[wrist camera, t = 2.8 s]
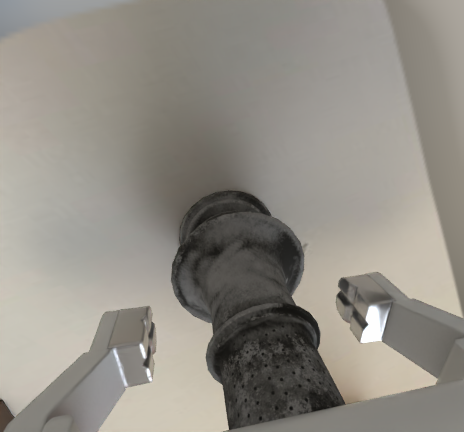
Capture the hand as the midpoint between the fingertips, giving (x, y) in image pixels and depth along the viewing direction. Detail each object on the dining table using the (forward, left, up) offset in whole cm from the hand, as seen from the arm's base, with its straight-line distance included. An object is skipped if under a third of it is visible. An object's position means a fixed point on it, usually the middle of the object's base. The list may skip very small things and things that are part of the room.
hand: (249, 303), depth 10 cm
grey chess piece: (0, 0, -6) cm, 6 cm away
